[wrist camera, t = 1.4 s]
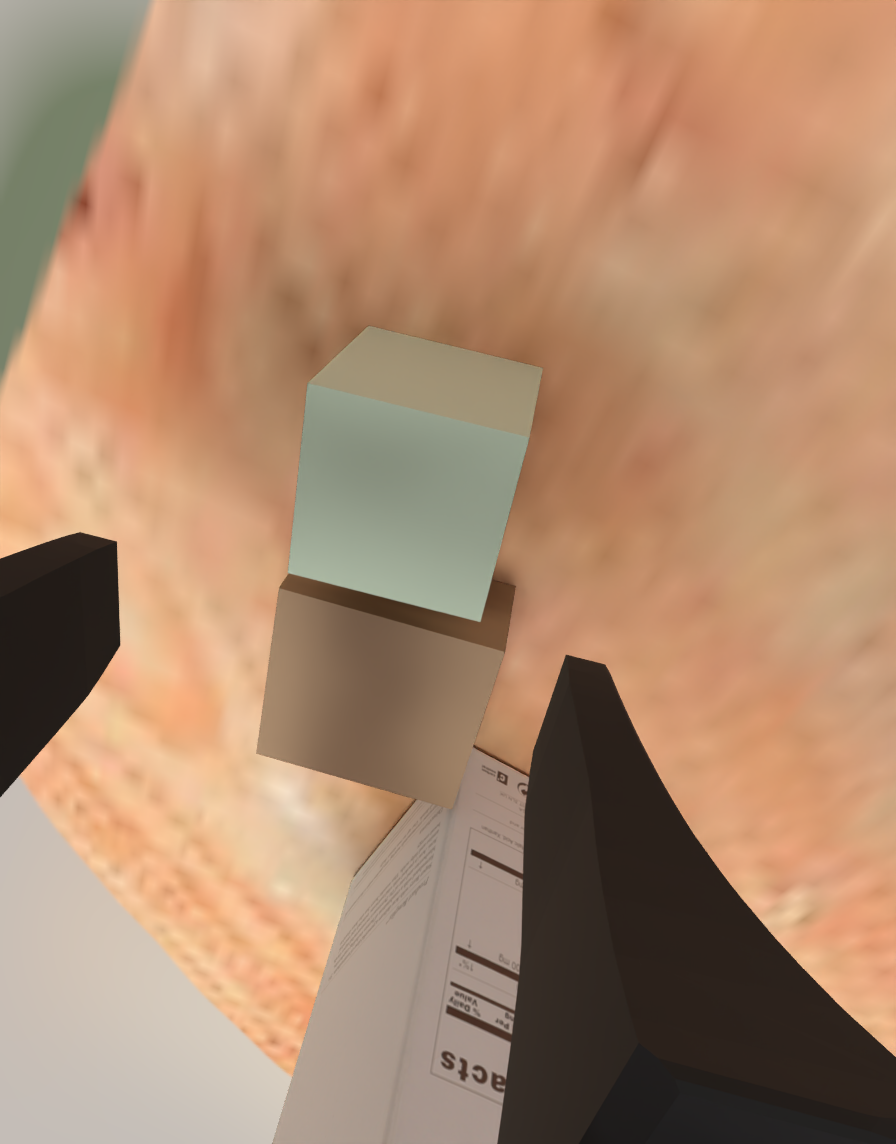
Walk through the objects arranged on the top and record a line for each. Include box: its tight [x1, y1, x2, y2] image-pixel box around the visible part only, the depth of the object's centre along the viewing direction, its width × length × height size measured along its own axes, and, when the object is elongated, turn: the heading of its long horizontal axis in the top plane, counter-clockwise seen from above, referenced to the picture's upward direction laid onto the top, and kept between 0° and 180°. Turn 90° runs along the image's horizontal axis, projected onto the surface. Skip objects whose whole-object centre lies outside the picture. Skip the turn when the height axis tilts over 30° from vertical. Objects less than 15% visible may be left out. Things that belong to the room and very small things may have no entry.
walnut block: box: [256, 573, 515, 809], centre depth 23 cm, size 6×6×4 cm
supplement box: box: [272, 748, 529, 1144], centre depth 22 cm, size 9×9×15 cm
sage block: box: [288, 326, 543, 622], centre depth 19 cm, size 4×4×5 cm
